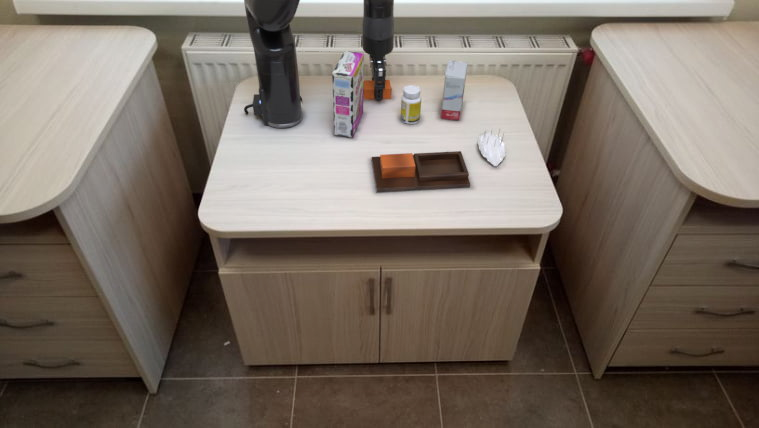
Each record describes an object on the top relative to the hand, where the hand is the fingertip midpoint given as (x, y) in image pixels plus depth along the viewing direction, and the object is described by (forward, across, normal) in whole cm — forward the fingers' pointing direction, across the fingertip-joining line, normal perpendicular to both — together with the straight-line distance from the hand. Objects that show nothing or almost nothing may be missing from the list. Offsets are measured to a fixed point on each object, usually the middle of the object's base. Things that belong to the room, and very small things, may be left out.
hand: (377, 92), depth 141 cm
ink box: (+1, +9, +18) cm, 20 cm away
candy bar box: (+1, +13, -8) cm, 15 cm away
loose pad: (+1, 0, 0) cm, 1 cm away
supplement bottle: (+1, +12, +7) cm, 14 cm away
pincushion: (+1, +26, +24) cm, 35 cm away
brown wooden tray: (+1, +33, +6) cm, 34 cm away
